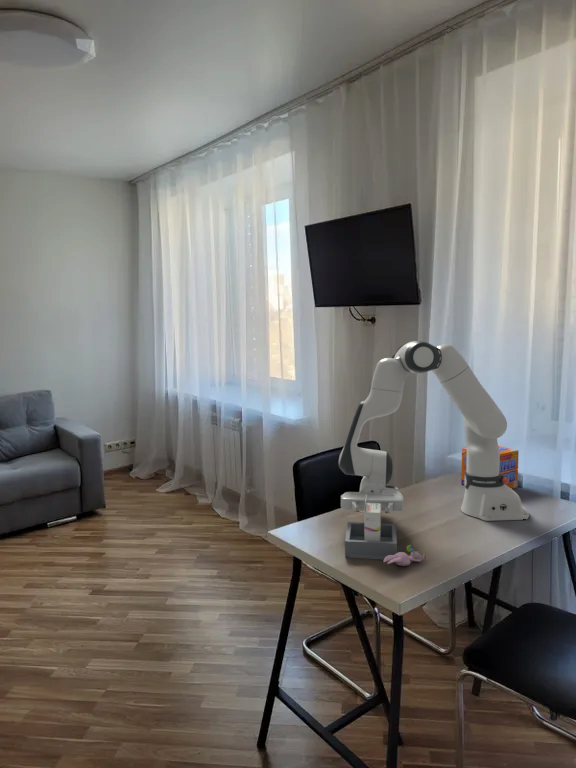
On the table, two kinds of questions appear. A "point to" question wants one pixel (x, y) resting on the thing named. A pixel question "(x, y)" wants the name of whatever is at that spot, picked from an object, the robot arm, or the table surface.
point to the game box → (506, 465)
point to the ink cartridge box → (372, 521)
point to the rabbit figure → (405, 557)
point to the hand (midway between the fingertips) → (371, 510)
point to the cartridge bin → (370, 542)
